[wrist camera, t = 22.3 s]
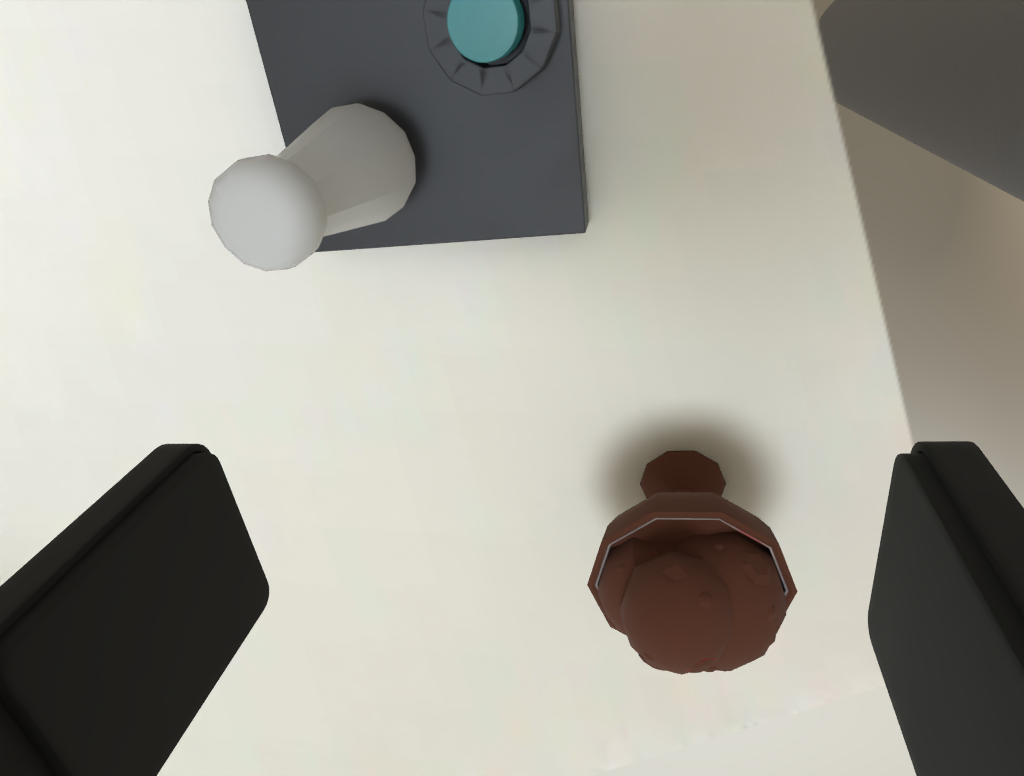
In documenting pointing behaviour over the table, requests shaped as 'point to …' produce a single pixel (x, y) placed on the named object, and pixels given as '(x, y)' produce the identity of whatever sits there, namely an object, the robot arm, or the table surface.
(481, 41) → the button
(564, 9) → the scale
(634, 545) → the ice cream bowl
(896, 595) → the robot arm
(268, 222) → the salt shaker
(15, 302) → the table surface
